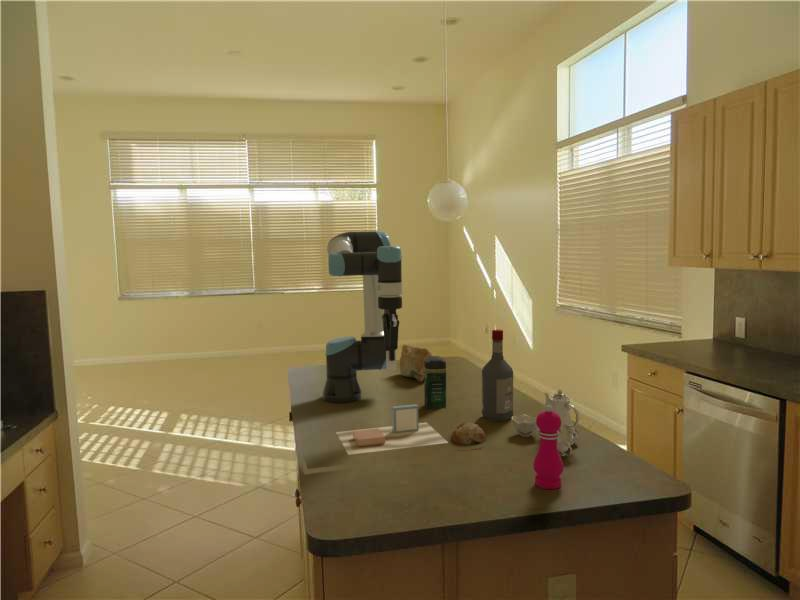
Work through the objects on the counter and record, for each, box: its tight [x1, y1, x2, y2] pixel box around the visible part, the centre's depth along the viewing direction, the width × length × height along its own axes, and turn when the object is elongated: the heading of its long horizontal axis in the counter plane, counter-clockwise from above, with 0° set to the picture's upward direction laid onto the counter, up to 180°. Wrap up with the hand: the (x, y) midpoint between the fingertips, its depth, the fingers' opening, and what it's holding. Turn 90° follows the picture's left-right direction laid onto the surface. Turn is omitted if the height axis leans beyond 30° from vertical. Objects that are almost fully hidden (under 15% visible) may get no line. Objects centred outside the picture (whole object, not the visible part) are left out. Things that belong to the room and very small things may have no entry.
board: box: [335, 422, 449, 456], centre depth 174 cm, size 20×30×1 cm, turn 106°
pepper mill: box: [532, 405, 564, 490], centre depth 141 cm, size 7×7×20 cm
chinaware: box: [511, 388, 580, 458], centre depth 169 cm, size 28×17×17 cm, turn 23°
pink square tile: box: [352, 427, 385, 446], centre depth 171 cm, size 2×8×8 cm
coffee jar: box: [423, 355, 447, 410], centre depth 207 cm, size 10×8×19 cm
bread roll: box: [451, 421, 487, 445], centre depth 171 cm, size 10×10×8 cm
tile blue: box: [391, 403, 419, 433], centre depth 179 cm, size 2×8×8 cm, turn 106°
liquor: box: [481, 329, 514, 422], centre depth 194 cm, size 9×9×30 cm
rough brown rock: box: [399, 344, 434, 383], centre depth 253 cm, size 23×17×15 cm
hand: (391, 370), depth 180 cm, fingers closed
